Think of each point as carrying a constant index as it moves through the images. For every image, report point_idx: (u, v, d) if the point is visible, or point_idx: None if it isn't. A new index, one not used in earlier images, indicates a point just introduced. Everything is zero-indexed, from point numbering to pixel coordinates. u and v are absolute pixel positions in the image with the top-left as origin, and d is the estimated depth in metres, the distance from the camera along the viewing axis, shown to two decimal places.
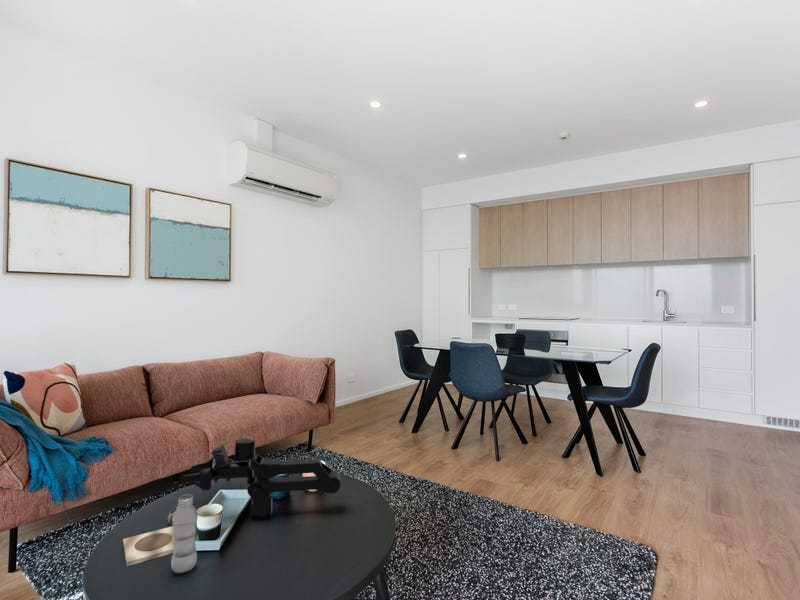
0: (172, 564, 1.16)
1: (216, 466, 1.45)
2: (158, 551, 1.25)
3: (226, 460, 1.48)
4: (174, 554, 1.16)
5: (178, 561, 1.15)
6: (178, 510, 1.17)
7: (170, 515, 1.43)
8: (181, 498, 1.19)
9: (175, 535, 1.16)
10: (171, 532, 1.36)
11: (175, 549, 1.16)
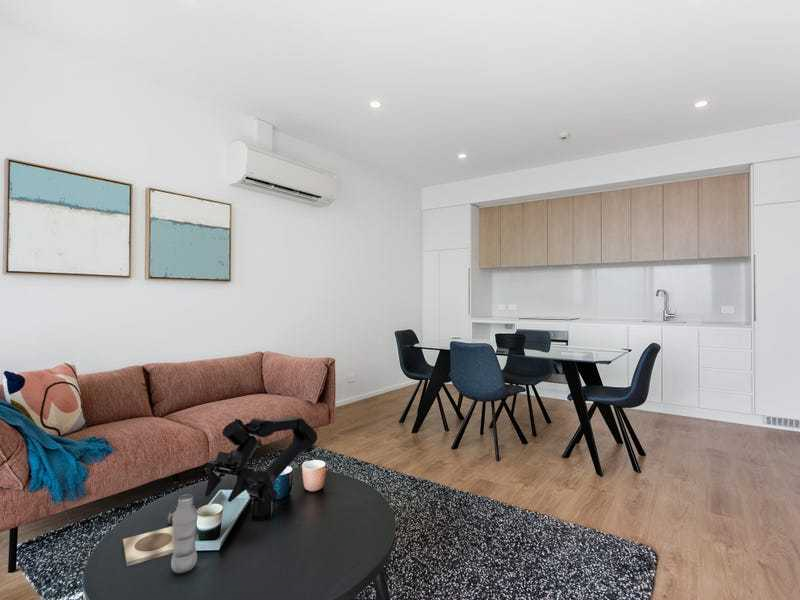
0: (172, 564, 1.16)
1: (237, 465, 1.36)
2: (158, 551, 1.25)
3: None
4: (174, 554, 1.16)
5: (178, 561, 1.15)
6: (178, 510, 1.17)
7: (170, 515, 1.43)
8: (181, 498, 1.19)
9: (175, 535, 1.16)
10: (171, 532, 1.36)
11: (175, 549, 1.16)
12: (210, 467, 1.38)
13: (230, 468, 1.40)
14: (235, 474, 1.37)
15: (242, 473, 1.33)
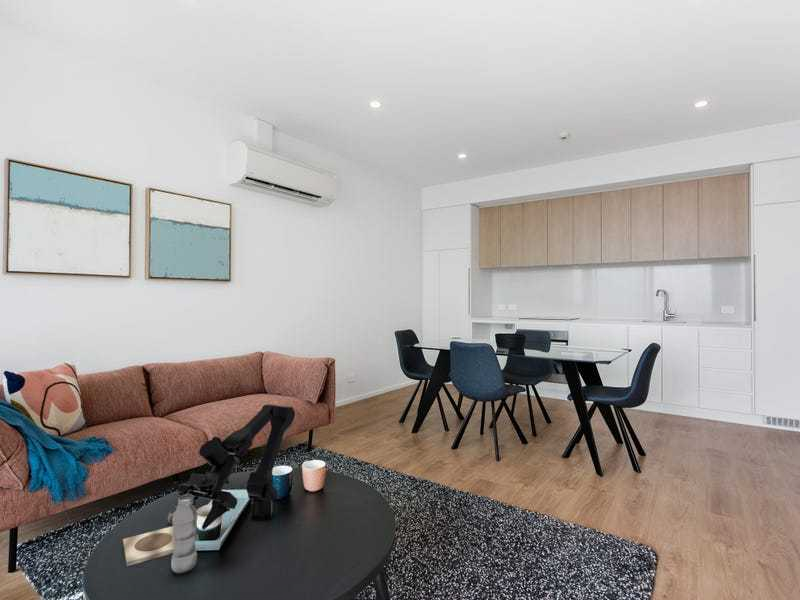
0: (172, 564, 1.16)
1: (213, 487, 1.25)
2: (158, 551, 1.25)
3: None
4: (174, 554, 1.16)
5: (178, 561, 1.15)
6: (178, 510, 1.17)
7: (170, 515, 1.43)
8: (181, 498, 1.19)
9: (175, 535, 1.16)
10: (171, 532, 1.36)
11: (175, 549, 1.16)
12: (183, 490, 1.26)
13: (205, 490, 1.28)
14: (210, 497, 1.25)
15: (218, 497, 1.21)
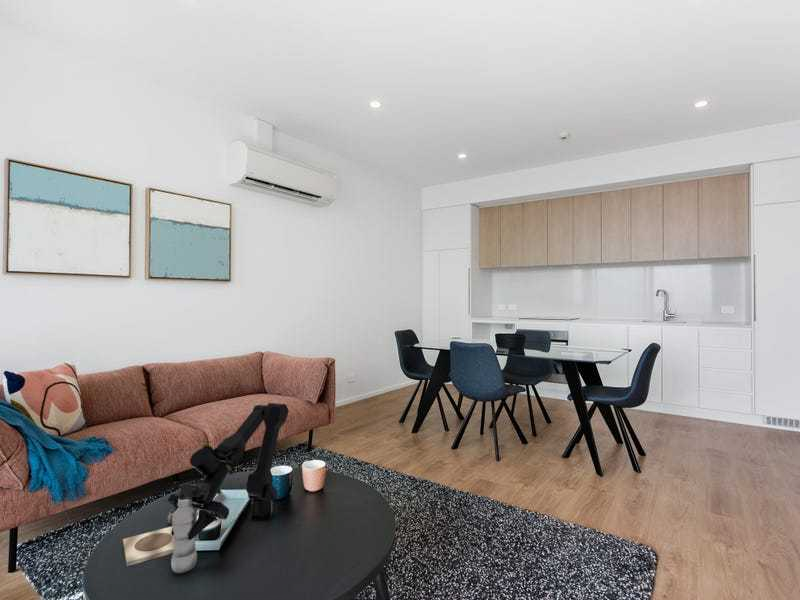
0: (172, 564, 1.16)
1: (204, 497, 1.22)
2: (158, 551, 1.25)
3: None
4: (174, 554, 1.16)
5: (177, 561, 1.15)
6: (178, 510, 1.17)
7: (170, 515, 1.43)
8: (181, 498, 1.19)
9: (175, 535, 1.16)
10: None
11: (175, 549, 1.16)
12: (174, 500, 1.23)
13: (197, 500, 1.25)
14: (198, 507, 1.22)
15: (209, 507, 1.18)
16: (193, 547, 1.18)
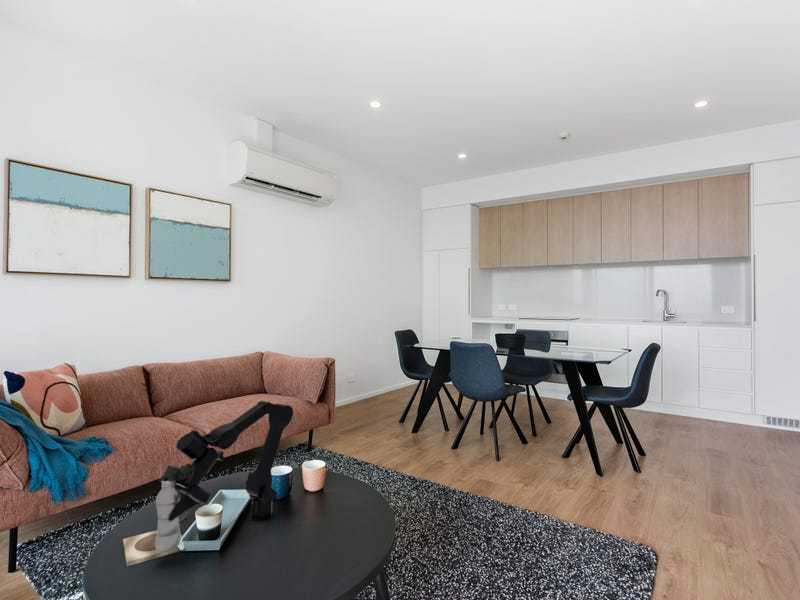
0: (155, 542, 1.20)
1: (188, 481, 1.24)
2: (158, 551, 1.25)
3: None
4: (157, 533, 1.20)
5: (159, 540, 1.19)
6: (161, 491, 1.21)
7: None
8: (166, 479, 1.23)
9: (158, 514, 1.20)
10: None
11: (158, 528, 1.20)
12: None
13: (185, 483, 1.28)
14: (183, 489, 1.25)
15: (188, 491, 1.20)
16: (175, 528, 1.21)
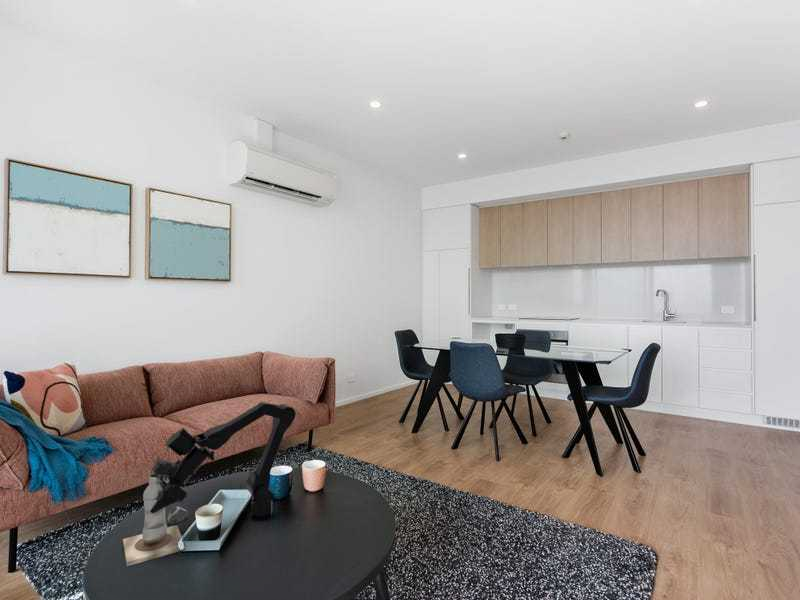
0: None
1: (171, 476, 1.30)
2: (158, 551, 1.25)
3: (174, 465, 1.33)
4: (144, 524, 1.29)
5: (143, 532, 1.28)
6: None
7: (170, 515, 1.43)
8: (155, 475, 1.32)
9: None
10: (171, 532, 1.36)
11: None
12: None
13: None
14: None
15: (165, 486, 1.26)
16: (158, 523, 1.28)
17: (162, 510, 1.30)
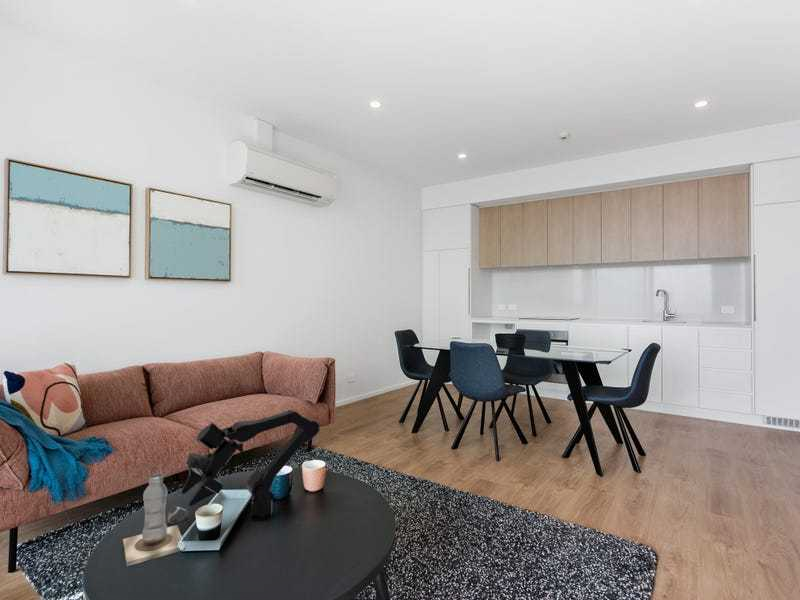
0: None
1: (205, 470, 1.36)
2: (158, 551, 1.25)
3: (207, 458, 1.39)
4: (144, 525, 1.29)
5: (143, 532, 1.28)
6: (148, 486, 1.30)
7: (170, 515, 1.43)
8: (155, 475, 1.32)
9: None
10: (171, 532, 1.36)
11: None
12: None
13: None
14: None
15: (202, 480, 1.32)
16: (158, 523, 1.28)
17: (162, 510, 1.30)
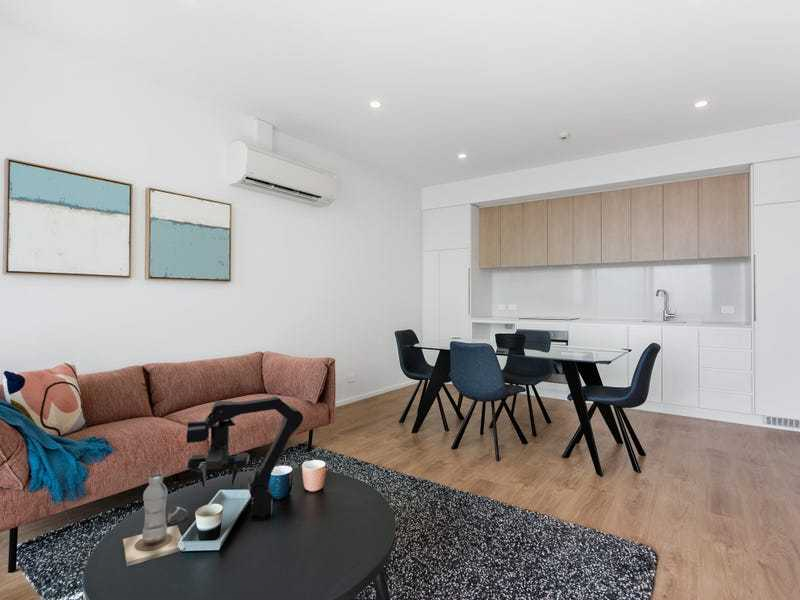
0: None
1: None
2: (158, 551, 1.25)
3: (218, 450, 1.41)
4: (144, 524, 1.29)
5: (143, 532, 1.28)
6: (148, 486, 1.30)
7: (170, 515, 1.43)
8: (155, 475, 1.32)
9: None
10: (171, 532, 1.36)
11: None
12: (196, 466, 1.40)
13: None
14: None
15: (237, 464, 1.42)
16: (158, 523, 1.28)
17: (162, 510, 1.30)
